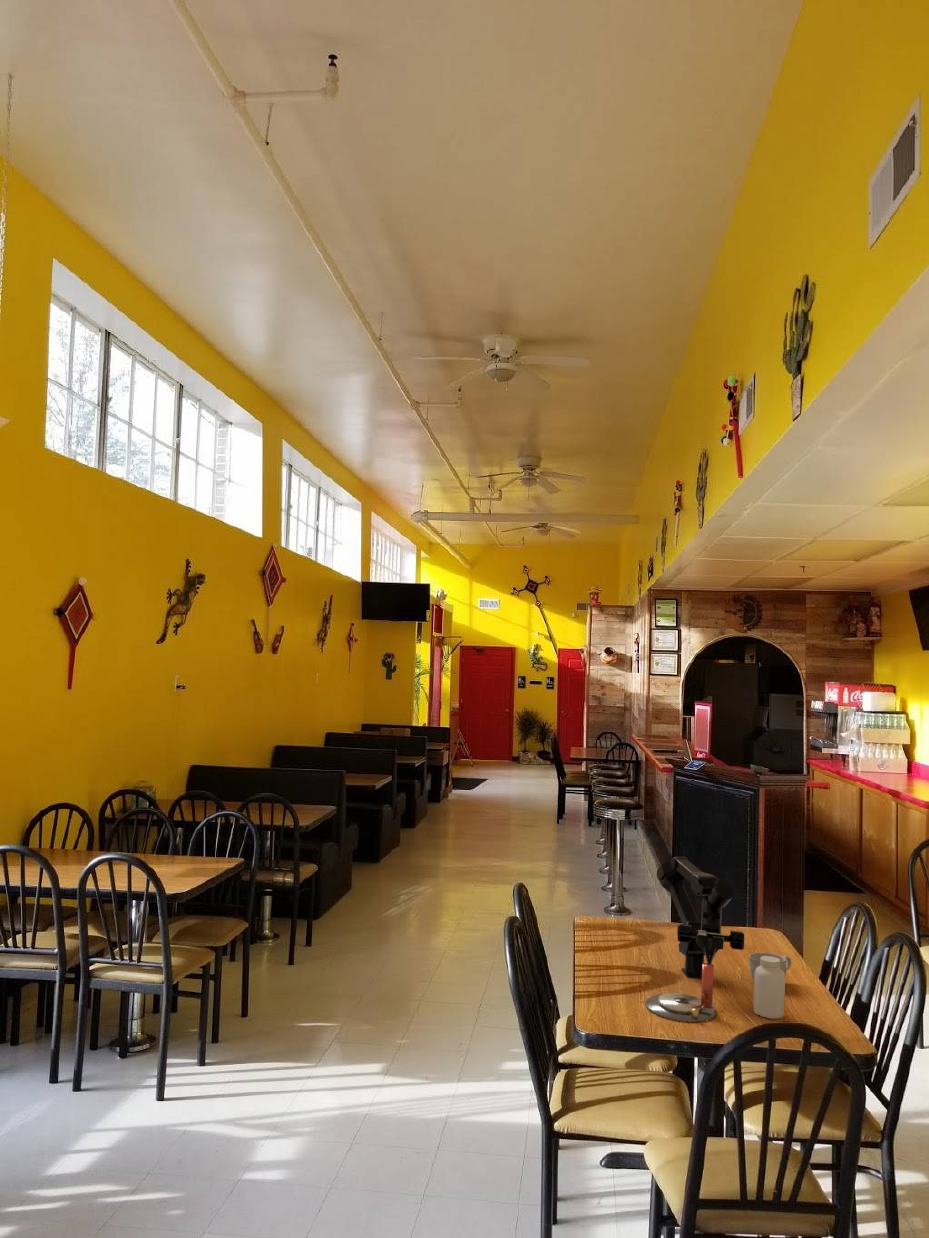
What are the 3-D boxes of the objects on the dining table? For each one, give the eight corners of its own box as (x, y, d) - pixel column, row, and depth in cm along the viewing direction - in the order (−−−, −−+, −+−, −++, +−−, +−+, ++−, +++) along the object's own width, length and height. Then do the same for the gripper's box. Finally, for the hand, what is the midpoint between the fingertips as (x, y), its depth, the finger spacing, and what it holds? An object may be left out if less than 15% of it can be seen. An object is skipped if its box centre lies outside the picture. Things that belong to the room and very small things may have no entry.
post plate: (637, 995, 257) (638, 984, 258) (703, 996, 258) (703, 985, 259) (655, 1021, 238) (656, 1009, 239) (726, 1023, 240) (726, 1011, 240)
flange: (654, 1007, 246) (655, 962, 246) (663, 994, 256) (665, 950, 257) (710, 1019, 239) (711, 972, 240) (717, 1004, 250) (719, 960, 251)
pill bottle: (772, 1021, 242) (774, 964, 243) (747, 1011, 249) (748, 956, 249) (789, 1016, 247) (791, 960, 248) (764, 1006, 253) (766, 952, 254)
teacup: (759, 989, 267) (760, 962, 267) (741, 977, 277) (742, 950, 278) (802, 988, 269) (803, 961, 270) (782, 976, 280) (783, 950, 280)
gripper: (743, 933, 270) (742, 982, 259) (679, 925, 275) (676, 973, 264) (744, 913, 263) (743, 963, 252) (679, 905, 268) (675, 953, 257)
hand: (709, 963), depth 256 cm, fingers closed
